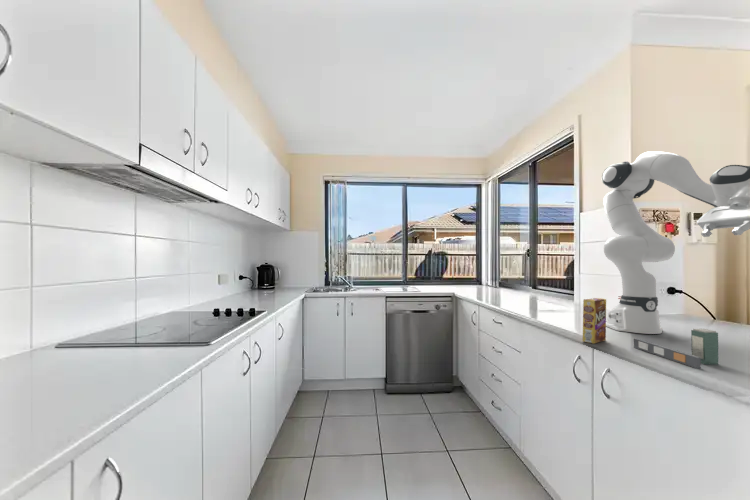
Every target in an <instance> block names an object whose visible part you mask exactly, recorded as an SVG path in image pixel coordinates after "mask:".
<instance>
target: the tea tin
mask: <svg viewBox="0 0 750 500" xmlns="http://www.w3.org/2000/svg"><path fill="white" fill-rule="evenodd" d="M690 333H691V336H690V337H691V355H694V356H698V357H701V364H702V365H704V366H705V365H706V366H709V365H713V366H715V365H719V332H717V331H716V330H713V329H709V328H693V329H691V332H690Z"/></svg>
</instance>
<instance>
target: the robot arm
mask: <svg viewBox="0 0 750 500" xmlns="http://www.w3.org/2000/svg"><path fill="white" fill-rule="evenodd" d="M600 180H601V182H602V184H603V185H604V186H606V187H607V188H609V189H612V190H611V191H609V192H608V193H606V194H605V196H604V197H603V207H604V211H605V214H606V216H607V220H608V221H609V224H610V226H611V229H612V231H613V232H614V233H615V234H617V235H619V236H614V237H610V238H608V239H607V240H606V241H605V243H604V246H603V252H604V255H605V257H606V258H607V259H608V260H609V261H611V263H613V264H614V265H615V266H616V267H617V269H618V271H619V273H620V276H621V283H622V284H621V285H622V286H621V287H622V295H620V296H618V298H617V299H618V300H619V302H618V303H619V304H617V305H616V306H614V307H613V308H612V309H610V310H609V311H608V313H607V319H606V328H610V329H612V330H614V331H617V332H618V331H619V332H628V333H635V334H647V335H648V334H649V335H652V334H653V335H654V334H655V335H656V334H657V335H658V334H662V333H663V332H662V331H664V330H663V327H661V319H660V312H659V310H658V306H659V304H658V303H659V300H658V299H659V298H658V297H657V278H656V276H654V275H653V274H652V273H650V272H648V271H646V270H645V268H644V266H643V263H658V262H659V263H660V262H664V261H668V260H670V259H671V258H672V257H673V256H674V254H675V251H676V248H675V243H674V241H672V239H671V238H669V237H666V236H664V235H662V234H661V233H658V232H657V231H656V230H654V229H653V228H652V227H650V226H649V225H648V224H647V222H646V221H644V219H643V217H642V216H641V214H640V212H639V210H638V209H637V206H636V204H635V202H634V199H639V198H640V197H641V196H643V195H645V194H646V193H648V192H649V191H650V190H651V189H652V188H653V186H654V184H655V181H657V182H660V183H663V184H665V185H666V186H669V187H671V188H672V189H675V190H677V191H679V192H680V193H682V194H683V195H686V196H688V197H690V198H693V199H695V200H698V201H699V202H700V201H701V202H703V203H705V204H708V205H710V206H712V207H713V208H711V209H709V210H708V211H707V212H705V213H704V214H703V215H702V216H700V217H699V218H698V220H697V223H696V224H697V225H699V227H700V228H701V229H702V230H703V231H701V233H700V235H701V236H702V237H704V238H708V237H711V236H712V235H713V233H712V231H713V230H718V229H729V228H730V229H732V228H733V229H732V230H731V233H732V234H733V235H734V236H742V234H744V232H747V231H748V230H750V165H743V164H729V165H725V166H723V167H720V168H719V169H717V170H715V172H713V173H712V175H710V177H709V183H710V184H709V183H707V182H705V181H704V180H703V179H702V178H701V177H700V176H699V175H698V173H697V172H696V170H695V169H694V168H693V165H692V164H691V162H690V160H689V159H687V158H686V157H684V156H682V155H679V154H676V153H672V152H665V151H646V152H643V153H641V154H639V156H637V157H636V159H635V160H634V161H633V162H632V163H631V162H629V161H626V160H625V161H622V162H617V163H612V164H611V165H609V166H607V167H606V168H605V169H604V171H603V172H602V173H601V179H600Z"/></svg>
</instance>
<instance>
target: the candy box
mask: <svg viewBox="0 0 750 500" xmlns="http://www.w3.org/2000/svg"><path fill="white" fill-rule="evenodd" d="M582 302H583V304H582V305H583V306H582V307H583V308H582V314H583V316H582V342H585V343H589V344H592V345H593V344H598V343H601V342H605V341H606V340H607V339H606V338H607V335H606V333H607V326H606V321H607V298H602V297H601V298H600V297H592V298H587V299H585V298H584V299H583V301H582Z"/></svg>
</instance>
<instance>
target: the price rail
mask: <svg viewBox="0 0 750 500" xmlns="http://www.w3.org/2000/svg"><path fill="white" fill-rule="evenodd" d="M633 348H635V349H637V350H641V351H643V352H647V353H650V354H652V353H653V354H652V355H656V356H658V357H662V358H664V359H667V360H670V361H673V362H676V363H679V364H682V365H686V366H688V367H692V368H693V369H702V365H701V357H698V356H694V355H692V353H691V354H690V353H687V352H684V351H680V350H678V349H677V350H676V349H673V348H671V347H667V346H663V345H661V344H657V343H654V342H650V341H647V340H644V339H640V338H638V337H637V338H633Z"/></svg>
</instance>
